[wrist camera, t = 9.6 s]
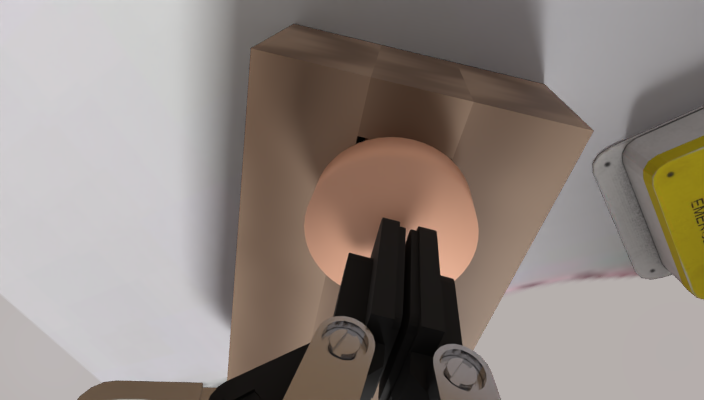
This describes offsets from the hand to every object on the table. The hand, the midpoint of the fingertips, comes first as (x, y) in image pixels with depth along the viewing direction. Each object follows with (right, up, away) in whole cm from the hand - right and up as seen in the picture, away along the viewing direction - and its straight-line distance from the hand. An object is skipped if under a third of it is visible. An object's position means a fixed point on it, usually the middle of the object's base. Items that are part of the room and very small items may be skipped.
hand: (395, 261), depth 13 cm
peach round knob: (+1, +4, +7) cm, 9 cm away
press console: (-1, -1, +13) cm, 13 cm away
